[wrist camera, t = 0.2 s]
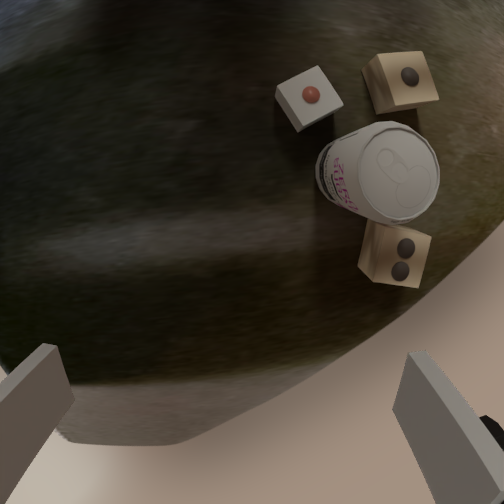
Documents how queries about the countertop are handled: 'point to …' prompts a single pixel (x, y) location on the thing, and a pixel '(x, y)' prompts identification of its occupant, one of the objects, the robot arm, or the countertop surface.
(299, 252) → the countertop surface
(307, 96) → the grey plastic block
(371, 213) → the supplement can
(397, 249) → the maple block
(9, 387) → the robot arm
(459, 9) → the countertop surface
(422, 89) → the maple block
